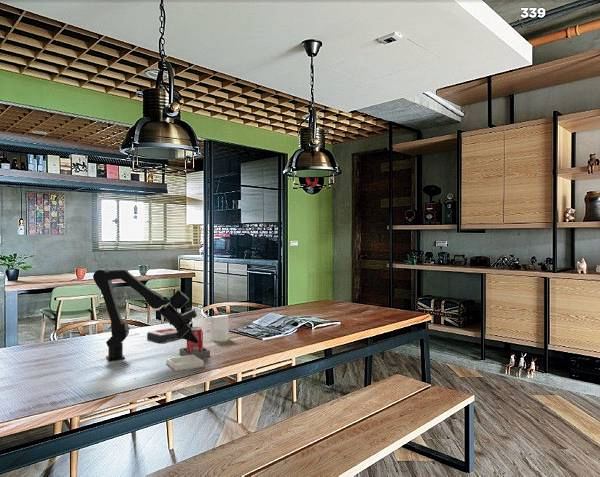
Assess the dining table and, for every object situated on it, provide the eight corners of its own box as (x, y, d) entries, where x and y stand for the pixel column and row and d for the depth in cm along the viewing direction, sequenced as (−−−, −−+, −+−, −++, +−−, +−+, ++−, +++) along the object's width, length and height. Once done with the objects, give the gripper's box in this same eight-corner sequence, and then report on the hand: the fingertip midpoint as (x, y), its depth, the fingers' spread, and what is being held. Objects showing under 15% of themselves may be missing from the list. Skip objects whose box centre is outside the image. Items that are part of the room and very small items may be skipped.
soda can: (197, 352, 200) (197, 326, 200) (205, 355, 195) (206, 328, 195) (183, 354, 195) (183, 328, 195) (191, 358, 190) (192, 331, 190)
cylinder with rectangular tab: (216, 342, 218) (216, 318, 218) (207, 338, 225) (207, 315, 225) (231, 339, 224) (231, 316, 224) (222, 336, 231) (222, 313, 230)
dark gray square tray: (179, 354, 196) (179, 348, 196) (200, 350, 202) (201, 345, 202) (187, 359, 188) (187, 353, 188) (209, 356, 194) (210, 350, 194)
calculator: (184, 330, 228) (160, 334, 216) (184, 339, 228) (159, 343, 215) (171, 327, 234) (147, 331, 222) (171, 335, 234) (146, 339, 222)
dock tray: (166, 364, 182) (166, 358, 182) (193, 359, 188) (193, 354, 188) (175, 371, 172) (176, 365, 172) (203, 366, 179) (203, 361, 179)
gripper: (184, 306, 185) (211, 332, 187) (187, 300, 203) (211, 323, 206) (165, 325, 183) (192, 351, 186) (169, 317, 202) (193, 340, 204)
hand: (198, 340), depth 195 cm, fingers closed on soda can, 7 cm apart
